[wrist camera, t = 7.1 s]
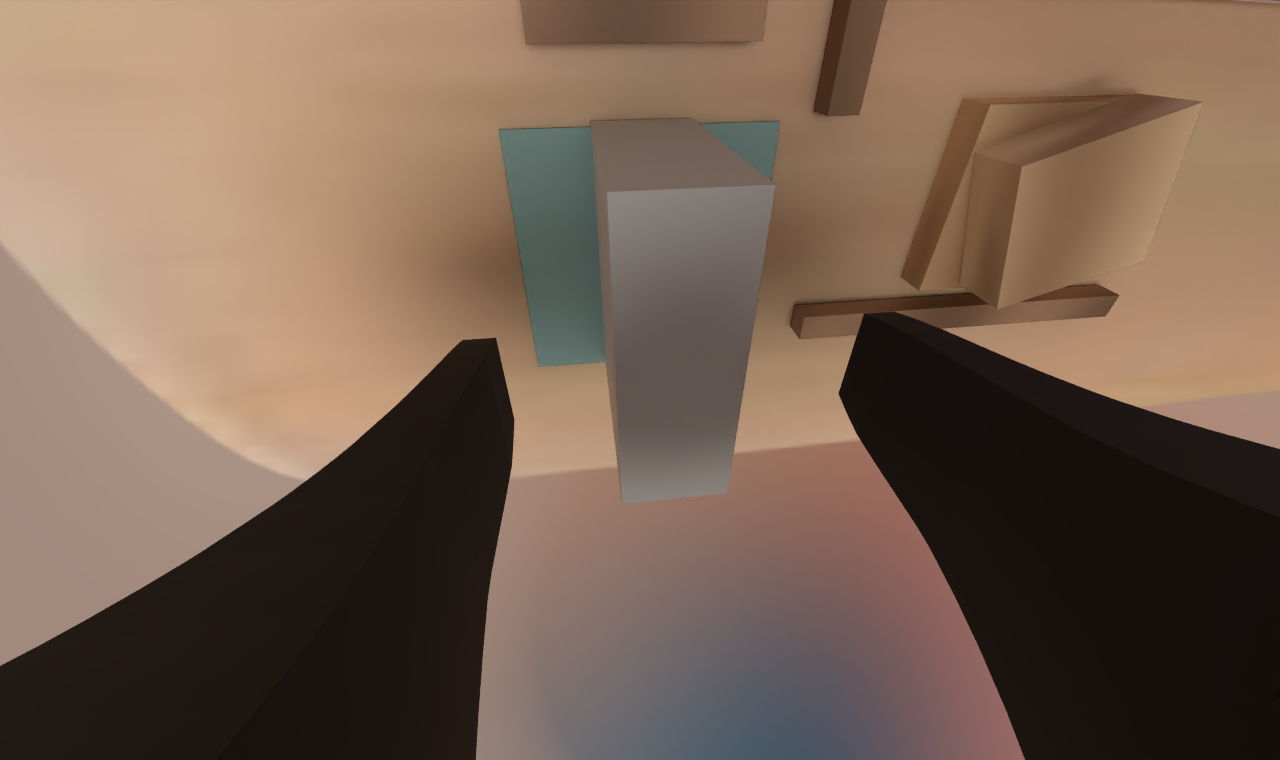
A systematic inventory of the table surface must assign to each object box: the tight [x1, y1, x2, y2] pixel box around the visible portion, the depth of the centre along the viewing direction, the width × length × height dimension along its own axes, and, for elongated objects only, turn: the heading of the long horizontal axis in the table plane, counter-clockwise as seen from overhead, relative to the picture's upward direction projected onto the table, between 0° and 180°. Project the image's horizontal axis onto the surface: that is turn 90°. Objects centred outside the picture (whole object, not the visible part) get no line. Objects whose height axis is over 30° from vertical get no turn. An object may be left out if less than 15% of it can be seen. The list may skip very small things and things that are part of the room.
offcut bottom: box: [901, 95, 1130, 291], centre depth 14 cm, size 5×5×2 cm
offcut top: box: [960, 93, 1204, 309], centre depth 13 cm, size 4×4×2 cm
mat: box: [499, 121, 780, 367], centre depth 14 cm, size 7×7×1 cm
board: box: [590, 118, 776, 504], centre depth 11 cm, size 2×7×6 cm, turn 0°
